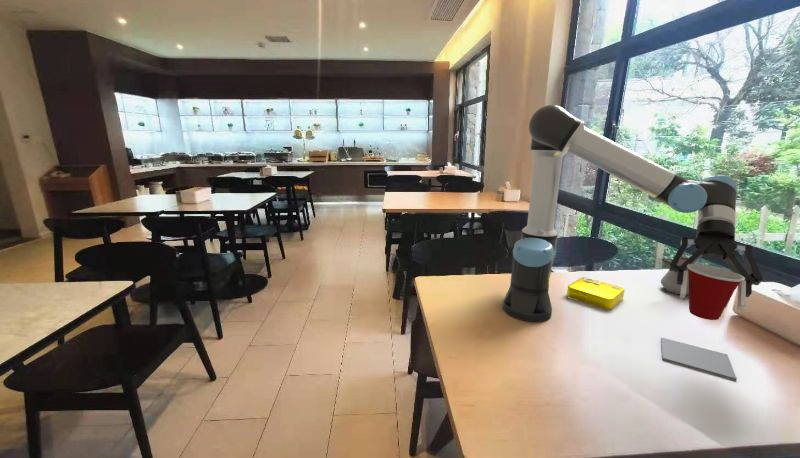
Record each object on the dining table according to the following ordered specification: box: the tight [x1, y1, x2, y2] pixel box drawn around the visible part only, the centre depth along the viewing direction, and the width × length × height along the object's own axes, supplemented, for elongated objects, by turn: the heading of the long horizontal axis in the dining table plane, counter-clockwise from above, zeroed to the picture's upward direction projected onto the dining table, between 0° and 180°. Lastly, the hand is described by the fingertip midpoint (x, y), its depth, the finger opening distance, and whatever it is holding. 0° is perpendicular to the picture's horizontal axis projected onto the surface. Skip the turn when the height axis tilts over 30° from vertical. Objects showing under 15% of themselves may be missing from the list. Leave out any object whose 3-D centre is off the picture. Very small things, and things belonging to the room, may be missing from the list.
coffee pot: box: [657, 256, 689, 296], centre depth 129 cm, size 21×12×15 cm, turn 116°
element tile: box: [566, 276, 625, 310], centre depth 126 cm, size 15×15×5 cm
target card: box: [660, 337, 737, 381], centre depth 90 cm, size 14×12×1 cm
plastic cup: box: [687, 263, 745, 321], centre depth 86 cm, size 11×11×12 cm
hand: (711, 301), depth 84 cm, fingers closed on plastic cup, 10 cm apart
